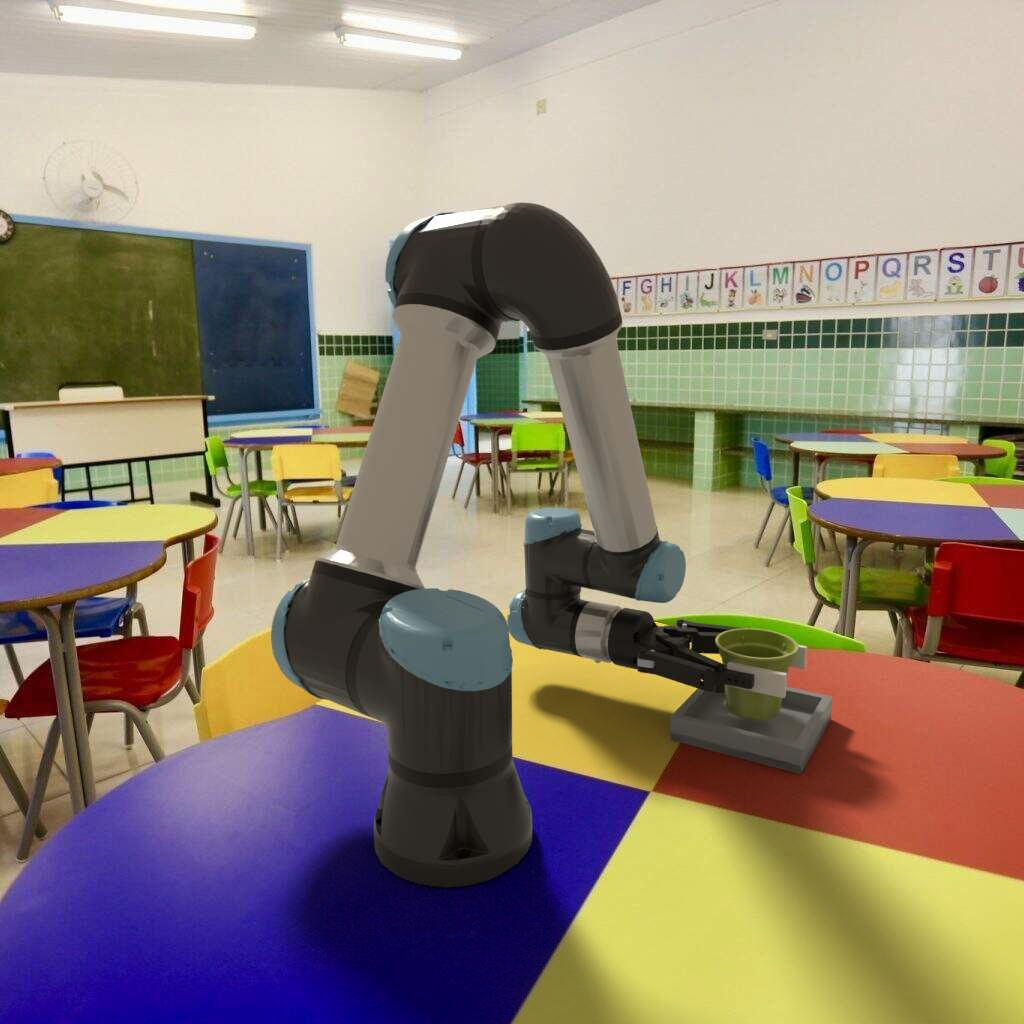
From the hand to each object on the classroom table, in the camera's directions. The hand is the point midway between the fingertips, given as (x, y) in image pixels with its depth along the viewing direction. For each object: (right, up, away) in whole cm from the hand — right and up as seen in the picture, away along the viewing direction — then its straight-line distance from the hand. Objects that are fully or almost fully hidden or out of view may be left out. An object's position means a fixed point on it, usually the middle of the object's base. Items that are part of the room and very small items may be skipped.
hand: (795, 671), depth 93 cm
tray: (-4, -8, +4) cm, 10 cm away
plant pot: (-4, -6, +4) cm, 8 cm away
